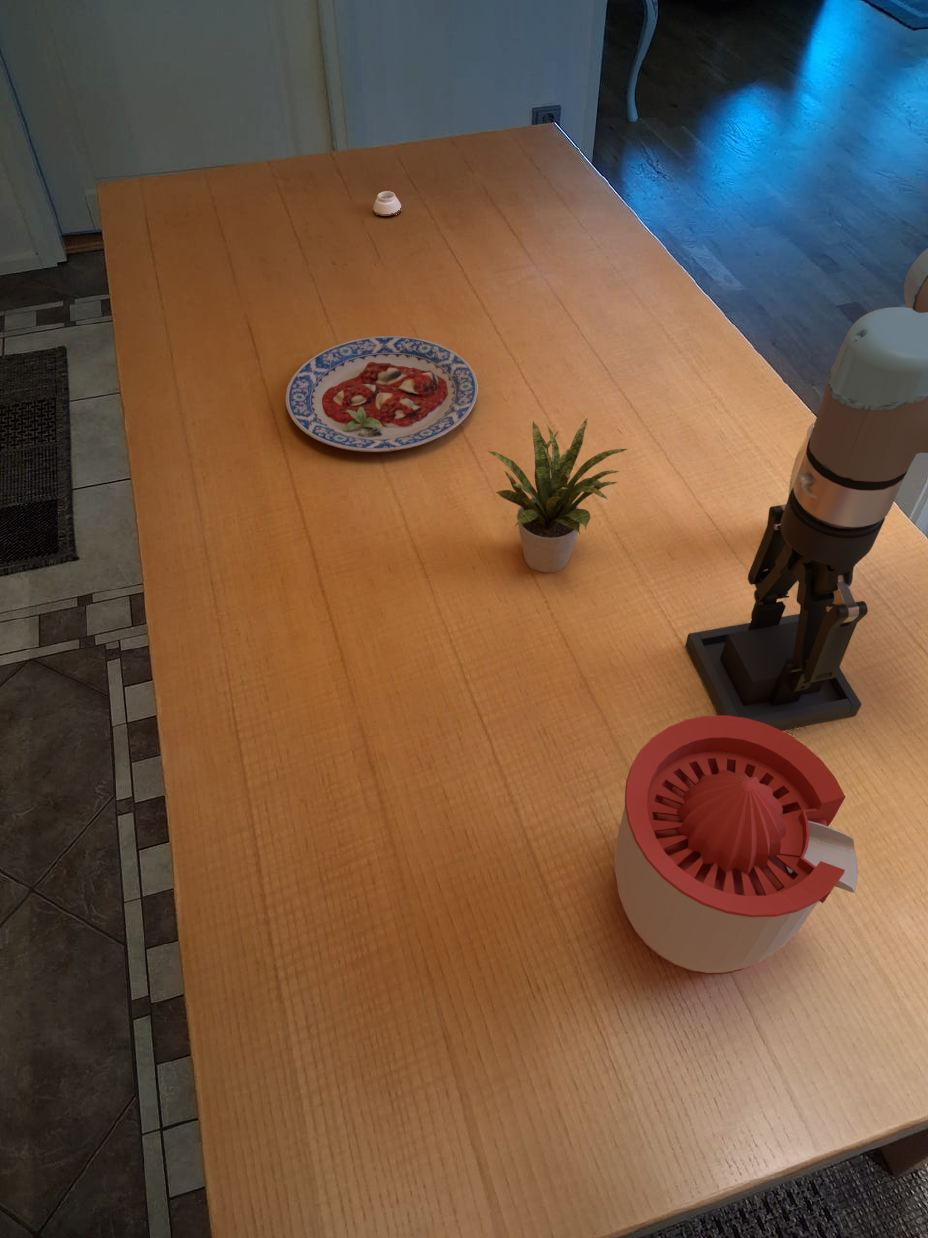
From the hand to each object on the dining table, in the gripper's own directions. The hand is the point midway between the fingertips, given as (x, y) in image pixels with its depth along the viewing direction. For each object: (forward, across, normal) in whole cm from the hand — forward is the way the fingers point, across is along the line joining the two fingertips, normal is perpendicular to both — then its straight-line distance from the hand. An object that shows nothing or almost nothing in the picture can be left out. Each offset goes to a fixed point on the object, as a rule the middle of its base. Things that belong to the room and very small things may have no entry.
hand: (769, 673), depth 90 cm
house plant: (+1, -21, -16) cm, 26 cm away
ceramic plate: (+1, -55, -31) cm, 63 cm away
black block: (0, 0, 0) cm, 0 cm away
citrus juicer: (+1, +21, -15) cm, 26 cm away
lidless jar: (+1, -110, -22) cm, 112 cm away
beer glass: (+1, -17, +12) cm, 21 cm away
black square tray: (+1, 0, 0) cm, 1 cm away
